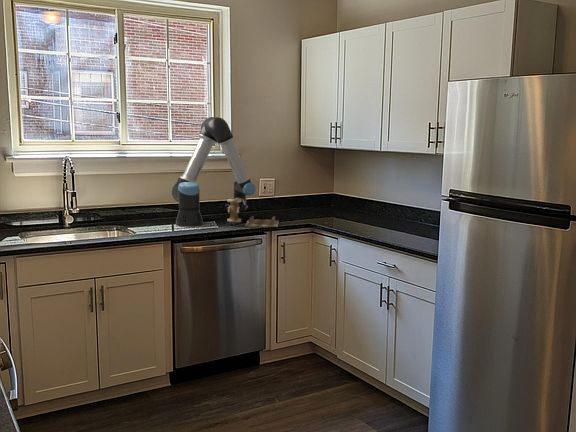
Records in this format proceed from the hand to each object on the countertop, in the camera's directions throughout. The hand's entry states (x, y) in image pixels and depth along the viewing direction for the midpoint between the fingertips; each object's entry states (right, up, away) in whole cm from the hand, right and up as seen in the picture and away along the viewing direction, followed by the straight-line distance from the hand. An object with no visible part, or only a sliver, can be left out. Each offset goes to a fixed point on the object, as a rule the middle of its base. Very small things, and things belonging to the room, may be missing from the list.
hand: (233, 210), depth 332 cm
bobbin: (0, -6, +6) cm, 9 cm away
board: (+16, -8, +8) cm, 20 cm away
